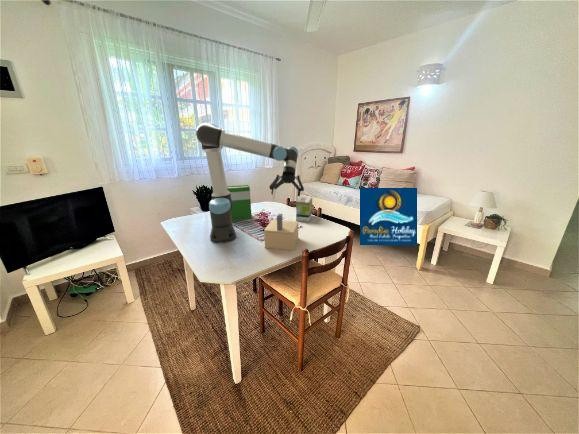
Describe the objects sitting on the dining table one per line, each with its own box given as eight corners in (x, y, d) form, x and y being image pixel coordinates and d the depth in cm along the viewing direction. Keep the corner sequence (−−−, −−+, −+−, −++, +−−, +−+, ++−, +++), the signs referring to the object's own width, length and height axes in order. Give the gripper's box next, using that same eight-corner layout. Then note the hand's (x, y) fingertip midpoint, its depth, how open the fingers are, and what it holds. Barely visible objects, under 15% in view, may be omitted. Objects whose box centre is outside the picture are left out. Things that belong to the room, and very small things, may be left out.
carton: (264, 247, 124) (264, 231, 121) (272, 235, 139) (272, 221, 136) (293, 250, 121) (293, 234, 118) (298, 237, 136) (298, 223, 133)
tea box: (309, 222, 161) (310, 202, 156) (295, 221, 163) (295, 201, 158) (311, 215, 175) (312, 196, 170) (299, 214, 177) (299, 196, 172)
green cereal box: (250, 215, 175) (248, 184, 167) (251, 218, 169) (249, 186, 161) (226, 217, 170) (223, 186, 162) (227, 221, 164) (224, 188, 156)
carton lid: (264, 231, 121) (263, 216, 118) (272, 221, 136) (271, 207, 133) (293, 233, 118) (293, 217, 115) (298, 222, 133) (298, 208, 130)
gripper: (310, 173, 138) (306, 204, 129) (270, 172, 142) (265, 202, 134) (309, 166, 131) (306, 197, 122) (268, 165, 136) (261, 195, 127)
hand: (284, 200), depth 128 cm, fingers open, 13 cm apart
